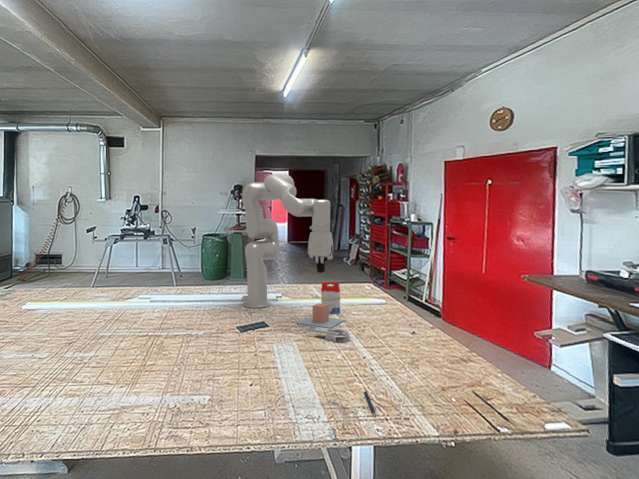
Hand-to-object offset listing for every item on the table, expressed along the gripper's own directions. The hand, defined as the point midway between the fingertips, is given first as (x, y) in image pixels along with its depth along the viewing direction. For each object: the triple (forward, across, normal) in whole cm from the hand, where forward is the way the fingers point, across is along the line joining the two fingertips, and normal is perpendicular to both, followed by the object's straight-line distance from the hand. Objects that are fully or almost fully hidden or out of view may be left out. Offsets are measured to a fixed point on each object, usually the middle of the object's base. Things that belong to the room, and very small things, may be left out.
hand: (320, 272), depth 208 cm
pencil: (+22, +49, -67) cm, 86 cm away
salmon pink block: (+21, 0, 0) cm, 21 cm away
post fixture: (+22, 0, 0) cm, 22 cm away
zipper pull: (+22, +12, -18) cm, 31 cm away
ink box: (+22, -4, +18) cm, 29 cm away
